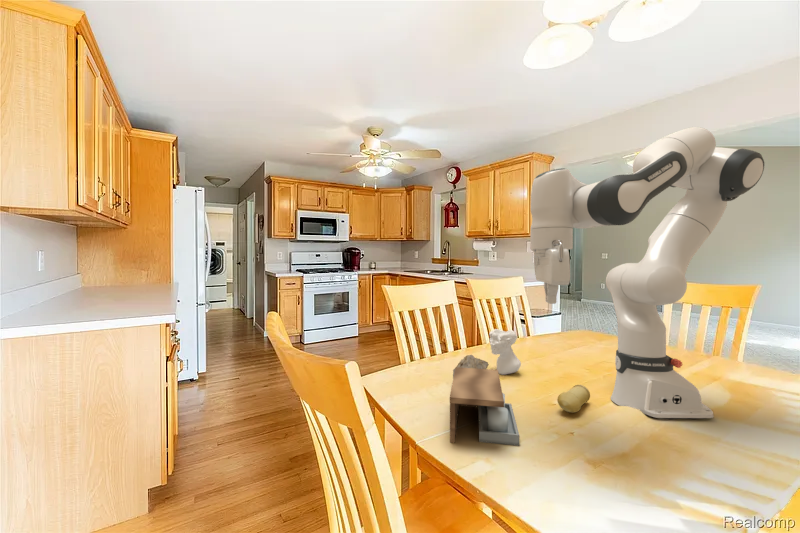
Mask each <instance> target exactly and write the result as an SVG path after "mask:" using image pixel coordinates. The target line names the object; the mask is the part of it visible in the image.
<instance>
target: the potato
mask: <svg viewBox="0 0 800 533" xmlns="http://www.w3.org/2000/svg"><path fill="white" fill-rule="evenodd" d="M590 398H591V392H590V390H589V389H588V388H587V387H586V386H584V385H583V384H575V385H574V386H572V387H571V388H570V389H568V390H567V391H563V392H561V393H560V394H558V396H557V399H556V400H557V404H558V406H559V407H560V408H561V409H562V410H563V411H565V412H567V413H572V414H573V413H577V412H579V411H580V410H581V409H582V406H583V405H584V404H586V403H587V402H588V401H589V400H590Z"/></svg>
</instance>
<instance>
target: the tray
mask: <svg viewBox="0 0 800 533" xmlns="http://www.w3.org/2000/svg"><path fill="white" fill-rule="evenodd" d="M512 406H513V405H512V403H506V402H505V408H507V409H508V433H502V432H491V431H487V406H482V405H478V407H477V410H478V411H477V412H478V442H479V443H484V444H485V443H486V444H488V443H489V444H496V445H507V446H517V447H520V432H519V428H518V424H517V420H516V417H515V413H514V408H513V407H512Z"/></svg>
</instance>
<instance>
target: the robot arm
mask: <svg viewBox="0 0 800 533" xmlns="http://www.w3.org/2000/svg"><path fill="white" fill-rule="evenodd" d="M764 170H765V159H764V158H763V155H762V154H761V153H760V152H757V151H754V150H751V149H746V148H739V149H737V148H732V147H721V146H717V142H716V138H715V136H714V135H713V133H712V132H711V131H710V130H708V129H706V128H704V127H699V126H692V127H687V128H684V129H680V130H677V131H675V132H672V133H670V134H666V135H665V136H663V137H661V138H659V139H657V140H655V141H654V142H652V143H650V144H649V145H647V146H646V147H644V148H643V149H642V150H640V152H639V153H637V155H635V157H634V160H633V163H632V172H633V173H632V174H618V175H614V176H610V177H608V178H605V179H603V180H600V181H596V182H593V183H590V184H587V183H584V182H582V181H580V180H578V179H577V178H576V177H575V176H574V175H573V174H572V173H571V171H570V169H569V168H555V169H550V170H547V171H544V172H541V173H539V174H538V175H536V177H535V178H534V179H533V182H532V185H531V186H532V187H531V192H530V214H531V219H532V221H531V224H530V225H531V226H530V236H529V237H530V240H529V241H530V250H531V251H532V252H533V263H534V265H533V266H534V276H535V279H536V280H537V281H539V282H542V283H543V288H544V294H545V303H548V304H553V305H555V304H557V296H558V290H559V286H569V285H570V281H571V262H570V258H571V257H570V252H569V250H573V249H574V248H573V246H574V245H573V244H574V243H573V242H574V240H573V239H574V236H573V235H574V234H573V233H574V229H578V230H579V229H588V228H591V229H592V228H598V227H605V226H606V227H607V226H624V225H627V224H628V225H629V224H630V223H631V222H633V221H635V219H637V217H638V216H639V215H640V214H641V212H642V211H643V209H644V208H645V207H646V205H647V204H648V203H649V202H650V201H652V199H654V198H655V197H656V196H658V195H660V193H662V192H664V191H665V190H666V189H668V188H669V187H671V188H679V189H683V190H686V192H685V195H684V196H682V198H681V199H679V200H678V201H677V202H676V204H674V206H672V208H671V209H670V210H669V211H668V212H667V213H666V215H665V216H664V217H663V219H662V220H661V221H660V223H659V224H658V225H657V227H656V228H655V229H654V230H653V232H652V233H651V234H650V236H649V237H648V239H647V244H648V247H647V249H646V252H645V254H644V256H643V258H642V259H641V260H639V262H626V263H622V264H619V265H617V266H615V267H613V268H611V269H610V270H609V271H608V272H607V274H606V277H605V285H606V288H607V290H608V291H609V293H610V294H611V299H612V303H613V307H614V310H615V316H616V320H617V350H616V351H615V352H616V353H615V359H614V360H615V361H614V362H615V370H616V376H615V382H614V386H613V387H614V388H613V390H612V394H611V396H610V400H611V401H612V402H613V403H614V404H616V405H618V406H619V407H629V408H633V409H635V410H639V411H640V412H641V413H642V414H644V415H647V416H649V417H653V418H657V419H714V411H713V410H712V409H711V408H710V407H709V406H708V405H706V404H704V403H703V402H702V397H701V394H700V391H699V389H698V388H697V387H696V386H695V384H693V383H692V382H691V381H689V380H688V379H687V378H685V377H684V376H682V374H680V373H678V372H677V371H676V370H674V367H675V368H678V369H680V368H681V367H682V366H683V361H681V360H680V359H678V358H673V357H671V356H669V355H667V328H666V325H665V323H664V321H663V319H661V317H660V314H659V311H658V309H657V306H665V305H671V304H675V303H677V302H678V301H680V300H682V298H683V297H684V296H685V294H686V292H687V288H688V283H687V279H686V272H687V271H688V270H687V269H688V267H689V265H690V263H691V260H692V259H693V257H694V256H695V255H696V253H697V252H698V251H699V249H700V248H701V247H702V246H703V244H704V243H705V241H706V240H707V239H708V238H709V237H710V235H711V234H712V233H713V232H714V230H715V228H716V227H717V225H718V224H719V222H720V221H721V219H722V217H723V214H724V213H725V211H726V208H727V206H728V202H732V201H734V200H737V198H738V197H740V196H741V195H744V194H745V193H747V192H749V191H750V190H751V189H752V188H754V187H755V186H756V185H757V183H758V182H759V181H760V180H761V178H762V176H763V174H764Z"/></svg>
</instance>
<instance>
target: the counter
mask: <svg viewBox="0 0 800 533" xmlns="http://www.w3.org/2000/svg"><path fill="white" fill-rule="evenodd" d="M455 367H456V366H455ZM455 367H454V369H455V373H454V378H453V377H452V383H451V384H452V385H451V389H450V394H449V442H450V443H453V444H454V443H455V442H456V435H457V426H458V417H459V410H460V407H469V408H478V405H482V406H494V407H504V399H503V394H502V393H503V390H502V384H501V380H500V374H499V373H498V370H497V369H491V368H490V369H489V368H487V369H475V368H458V367H456V368H455Z"/></svg>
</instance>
